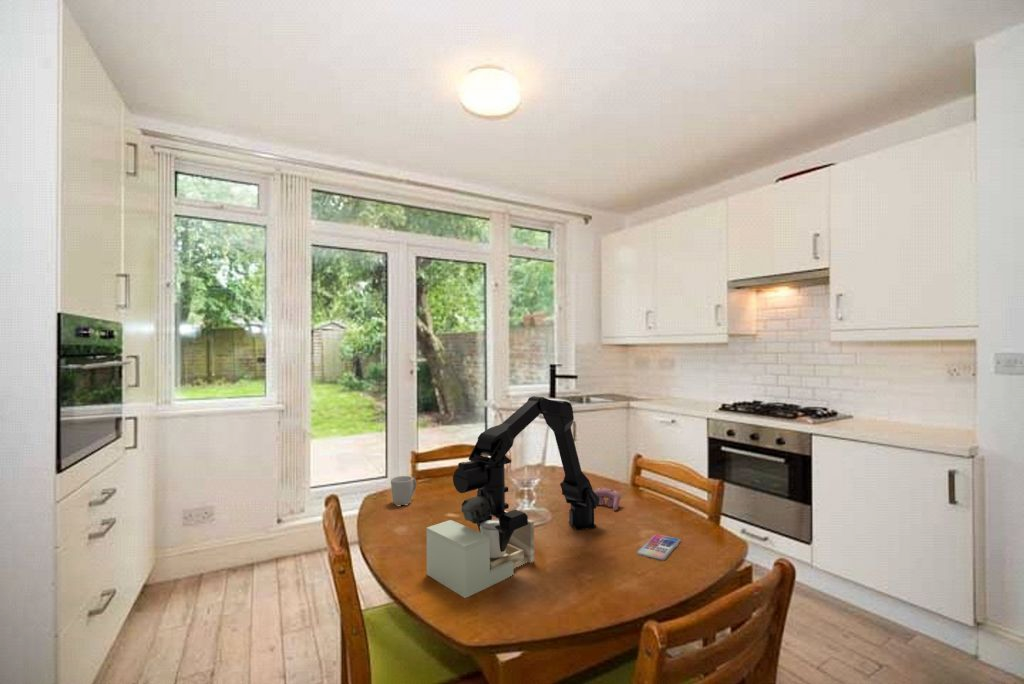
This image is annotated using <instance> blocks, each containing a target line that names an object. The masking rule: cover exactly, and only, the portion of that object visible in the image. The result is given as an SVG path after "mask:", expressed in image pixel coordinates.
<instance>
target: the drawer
mask: <svg viewBox="0 0 1024 684" xmlns="http://www.w3.org/2000/svg"><path fill="white" fill-rule="evenodd" d="M504 512H508V511H506V510H505V511H504ZM497 520H499V518H497ZM534 526H535V521H534V520H532V519H529V518H528V525H526V526H523V527H521V528H518V529H516V530H514V532H513V534H512V536H511V538H510V540H509V542H508V544H507V547H506V551H505V555H504V556H502V557H498V558H490V570H491V569H493V568H496V567H498V566H500V565H502V564H504V563H507V562H509V561H512V562H513V570H515V569H517V568H516V567H518V568H519V566H520V567H522V566H524V565H526V564H528V563H529V562H530V563H529V564H532V563H534V562H535V527H534ZM527 562H528V563H527ZM531 562H532V563H531ZM525 563H526V564H525ZM523 564H524V565H523ZM521 565H522V566H521ZM514 568H515V569H514Z"/></svg>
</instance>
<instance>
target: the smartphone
mask: <svg viewBox="0 0 1024 684" xmlns="http://www.w3.org/2000/svg"><path fill="white" fill-rule="evenodd" d="M680 543H681V539H680V538H676V537H672V536H668V535H663V534H657V533H656V534H654V535H652V537H650V538H649V540H648V541H646V543H644V544H643V545H642V546H641V547H640V548H639V549H638V550H637V551H636V555H638V556H640V555H641V556H640V557H644V556H645V557H644V558H647V557H648V558H650V559H651V558H652V559H651V560H655V559H656V560H655V561H659V560H660V562H664V560H665V561H666V559H667V558H668V557H669V556H670V555H671V554H672V553H673V551H674V550H675V549H676V548H677V547H678V546H679V544H680Z"/></svg>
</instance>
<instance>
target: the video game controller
mask: <svg viewBox="0 0 1024 684" xmlns="http://www.w3.org/2000/svg"><path fill="white" fill-rule="evenodd" d="M593 491H594V493H595V494H596V495H597V496H598V498H599V504H598V506H599V505H600V506H604V505H605V504H606V505H607V507H609V508H612V509H613V512H616V511H617V510H618V508H619V506H620V500H622V499H621V495H620V493H618V492H617V491H616V490H614V489H611V488H605V487H602V488H599V487H598V488H597V487H596V488H595V489H594V490H593ZM605 498H608V499H607V500H606V501H605Z"/></svg>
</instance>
